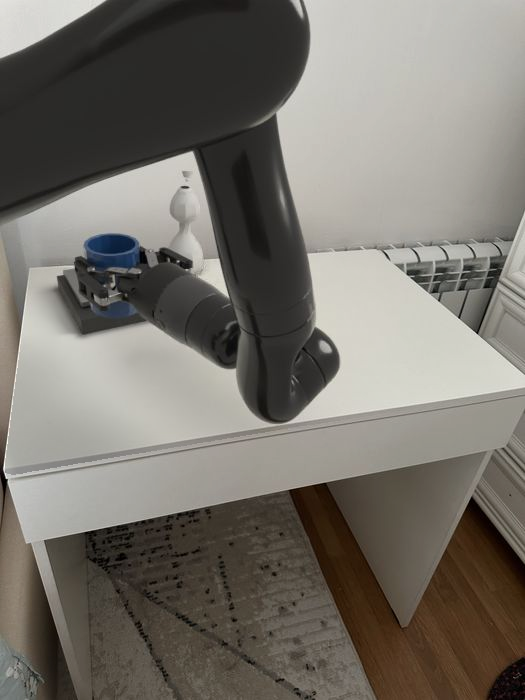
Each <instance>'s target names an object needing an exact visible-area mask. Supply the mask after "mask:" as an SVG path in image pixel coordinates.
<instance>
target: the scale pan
mask: <svg viewBox="0 0 525 700" xmlns="http://www.w3.org/2000/svg"><path fill="white" fill-rule="evenodd" d="M62 275H64V277H65V279H66V280H67V282H68V284H69V286H70V287H71V289H72V291H73V293H74V294H75V296H76V298H77V300H78V301H79V303H80V305H81V306H82V307H86V306H91V304H90V302H89V301H88V300H87V299H86V298H84V297H83V296H82V295H81V294H80V293H79V285H78V279H77V274H76V273H75V268H70V269H69V268H68V269H63V270H62Z"/></svg>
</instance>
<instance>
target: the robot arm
mask: <svg viewBox="0 0 525 700" xmlns="http://www.w3.org/2000/svg"><path fill="white" fill-rule="evenodd" d="M311 35H312V34H311V23H310V18H309V14H308V10H307V6H306V4H305V1H304V0H104V1H103V2H101V3H100V4H98V5H97V6H95V7H94V8H92V9H90V10H89V11H87V12H86V13H84V14H83V15H81V16H79V17H78V18H76V19H73V20H72V21H71V22H69V23H67V24H66V25H64V26H62V27H60V28H59V29H57V30H56V31H55V30H54V32H52V33H50V34H48V35H47V36H45V37H43V38H42V39H39V40H38V41H36V42H34V43H32V44H30V45H28V46H26V47H25V48H22V49H19V50H17V51H15V52H12V53H9V54H8V55H5V56H2V57H0V227H2V226H3V225H6V224H8V223H10V222H13V221H15V220H17V219H20V218H22V217H24V216H27V215H30V214H31V213H34V212H36V211H39V210H40V209H42V208H44V207H46V206H49V205H50V204H54V203H55V202H57V201H59V200H62V199H63V198H65V197H68V196H70V195H72V194H74V193H75V192H78V191H80V190H82V189H84V188H87V187H89V186H91V185H94V184H98V183H100V182H102V181H104V180H107V179H110V178H114V177H117V176H120V175H122V174H125V173H128V172H131V171H135V170H138V169H141V168H144V167H147V166H151V165H153V164H157V163H160V162H163V161H166V160H169V159H173V158H176V157H179V156H182V155H185V154H189V153H191V152H192V153H193V156H194V161H195V162H196V163H195V164H196V165H197V170H198V172H199V176H200V180H201V183H202V188H203V192H204V196H205V199H206V204H207V208H208V212H209V218H210V221H211V226H212V231H213V237H214V241H215V246H216V251H217V256H218V261H219V264H220V269H221V273H222V277H223V280H224V285H225V288H226V292H227V295H228V296H227V295H225V293H223V292H222V291H220V290H219V289H218V288H216V287H215V286H214V285H213V284H211V283H209V282H208V281H206V280H205V279H202V278H200V277H199V276H198V275H196V274H193V261H192V260H190V259H188V258H186V257H184V256H182V255H180V254H178V253H176V252H174V251H172V250H170V249H168V247H166V246H165V247H159V249H158V251H155V249H154V248H153V249H152V248H145V247H144V246H143V245H140V264H139V265H136V266H134V267H132V268H121V267H115V266H109V267H108V268H107V269H106V268H101V267H96V266H95V265H94V264H93V263H91V262H90V261H88V260H87V259H85V256H82V255H79V256H75V257H74V261H73V266H74V269H75V273H76V274H77V279H78V285H79V293H80V294H81V295H82V296H83V297H84V298H86V299H87V300H88V301H89V302H91V303H92V304H93V305H94V306H95V307H97V308H98V309H99V310H100V311H108V310H109V309H110V303H113V302H116V301H119V300H120V301H122V302H124V303H128V304H131V305H133V307H134V308H135V309H136V310H137V312H138V313H139V314H140V315H141V316H142V317H143V318H144V319H146V320H147V321H146V322H149V323H150V325H152V326H154V327H156V328H157V329H159V330H160V331H162V332H163V333H164V334H166V335H167V336H168V337H170V338H172V339H173V340H175V341H176V342H178V343H179V344H182V345H184V346H186V347H188V348H190V349H191V350H193V351H194V352H196V353H197V354H199V355H200V356H202V357H203V358H204V359H206V360H208V361H209V362H210V363H212V364H213V365H215V366H216V367H218V368H220V369H222V370H227V371H229V370H231V371H232V370H235V378H236V384H237V389H238V392H239V394H240V397H241V400H242V401H243V404H244V405H245V407H246V408H247V409H248V410H249V412H250V413H251V414H253V415H254V416H255V417H256V418H258V419H259V420H260V421H262V422H264V423H267V424H271V425H283V424H287V423H290V422H291V421H293V420H295V419H296V418H297V417H298V416H299V415H301V414H302V412H303V411H304V410H305V409H306V408H307V407H308V406H309V405H310V404H311V403H312V402H313V401H314V399H316V398H317V397H318V395H320V393H322V392H323V390H324V389H325V388H327V387H328V385H330V383H331V382H332V381H333V380H334V379H335V378H336V377H337V375H338V373H339V372H340V368H341V362H342V360H341V355H340V351H339V349H338V347H337V345H336V343H335V342H334V341H333V340H332V338H331V337H330V336H329V335H328V334H327V333H326V332H325V331H323V330H322V329H320V328H319V327H317V326H316V325H317V305H316V298H315V290H314V283H313V277H312V272H311V271H312V270H311V264H310V260H309V255H308V250H307V246H306V242H305V237H304V234H303V230H302V226H301V222H300V217H299V216H298V211H297V208H296V205H295V200H294V196H293V193H292V189H291V184H290V182H289V178H288V173H287V168H286V164H285V160H284V154H283V148H282V143H281V135H280V130H279V122H278V112H279V111H280V110H281V109H282V107H284V106H285V105H286V103H287V102H288V100H289V99H290V98H292V96H293V94H294V93H295V91H296V90H297V88H298V86H299V84H300V82H301V80H302V78H303V76H304V73H305V71H306V68H307V64H308V61H309V58H310V57H309V56H310V50H311V44H312V43H311V38H312V37H311ZM169 259H170V262H169ZM115 275H117V276H118V285H117V286H116V285H115ZM99 276H103V277H104V278H105V282H101V281H99Z"/></svg>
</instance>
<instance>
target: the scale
mask: <svg viewBox="0 0 525 700" xmlns="http://www.w3.org/2000/svg"><path fill="white" fill-rule="evenodd" d="M56 281H57V287H58V291H59V293H60V295H61V296H62V298H63V300H64V302H65V304H66V306H67V308H68V309H69V312H70V313H71V315H72V317H73V318H74V320H75V322H76V324H77V326H78V328H79V329H80V332H81V333H82V335H86V334H92V333H96V332H99V331H104V330H109V329H114V328H118V327H124V326H128V325H133V324H138V323H142V322H148V321H147V320H146V319H144V318H143V317H142V316H141V315H140V314H139V313H138V312H137V313H135V314H133V315H130V316H127V317H122V318H107V317H103V316H100V315H98V314H96V313H94V312H93V310H92V309H91V306H86V307H82V306H81V305H80V303H79V301H78V300H77V298H76V296H75V294H74V293H73V291H72V289H71V287H70V286H69V284H68V282H67V280H66V279H65V277H64V275H63V274H60V275H56Z"/></svg>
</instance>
